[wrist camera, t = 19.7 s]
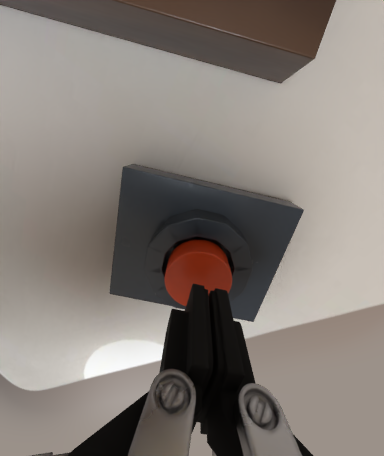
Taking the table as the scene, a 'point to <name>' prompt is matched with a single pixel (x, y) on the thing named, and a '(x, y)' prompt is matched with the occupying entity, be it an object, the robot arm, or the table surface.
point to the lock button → (196, 269)
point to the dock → (206, 28)
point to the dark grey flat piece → (197, 234)
